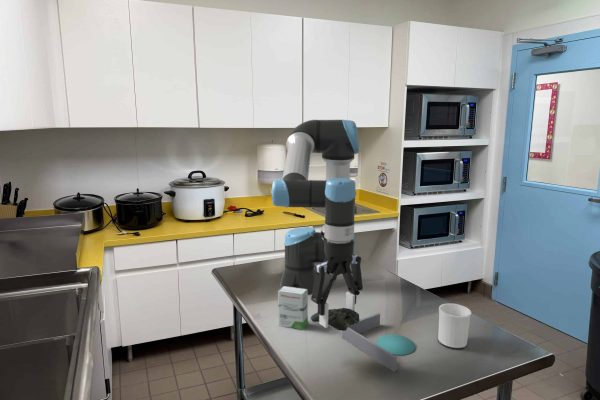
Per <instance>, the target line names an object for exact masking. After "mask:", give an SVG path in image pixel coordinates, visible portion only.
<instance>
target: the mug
mask: <svg viewBox="0 0 600 400" xmlns="http://www.w3.org/2000/svg"><path fill="white" fill-rule="evenodd" d="M438 317H439V318H438V333H437V334H438V335H437V341H438V343H439V344H440V345H441V346H443V347H445V348H447V349H451V350H463V349H465V348H466V347H467V346H468V338H469V331H470V322H471V317H472V310H471V309H470V308H468V307H466V306H464V305H462V304H458V303H452V302H451V303H450V302H449V303H442V304H441V305H439V306H438Z"/></svg>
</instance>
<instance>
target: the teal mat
mask: <svg viewBox="0 0 600 400" xmlns="http://www.w3.org/2000/svg"><path fill="white" fill-rule="evenodd" d="M376 344H377V345H378V346H380V347H382V348H383V349H385V350H387V351H388V352H390V353H391V354H393V355H395V356H406V355H410V354H412V353H413V352H414V351H415V350H416V345H415V344H416V343H414V341H413V340H412V339H410V338H409V337H406V336H403V335H400V334H392V333H391V334H384V335H381V336H379V337H378V338H377V339H376Z"/></svg>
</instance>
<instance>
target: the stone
mask: <svg viewBox="0 0 600 400" xmlns="http://www.w3.org/2000/svg"><path fill="white" fill-rule="evenodd" d="M310 320H311V322H313V323H319V314H318V311H317V312H316V313H313V314H312V315H311V316H310ZM359 320H360V314H359V312H357V311H355V310H354V311H353V310H351V309H347V308H346V307H342V308H341V307H340V308H333V309H332V308H331V309H329V308H328V326H330V327H331V328H334V329H335V330H337V331H341V332H342V331H346V330H347V328H348V327H349V326H350V325H353V324H354V323H358V322H359Z"/></svg>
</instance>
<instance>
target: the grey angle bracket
mask: <svg viewBox="0 0 600 400" xmlns="http://www.w3.org/2000/svg"><path fill="white" fill-rule="evenodd" d="M380 325H381V313H379V312H377V313H375V314H371V315H368V316H366V317H363V318H361V319H360V318H359V322H358V323H354V324H353V325H350V326H349V327H348V328H347V330H346V331H341V332H342V334H341V339H343V340H345V341H346V342H348V343H350V345H352V346H353V347H355V348H357V349H358V350H360V351H361V352H363V353H365V354H366V355H367V356H369V357H370V358H371V359H374V360H375V361H377V362H378V363H380V364H381V365H382V366H384V367H386V368H387V369H388V370H389V369H390V371H392V372H396V371H397V362H398V360H397V358H398V357H397V355H393V354H391V353H390V352H388V351H387V350H385V349H383V348H382V347H380V346H378V345H377V343H376V342H373V341H372V340H370V339H369V338H367V337H366V336H364V335H362V334H361V333H363V332H366V331H369V330H372V329H374V328H376V327H379V326H380Z"/></svg>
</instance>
